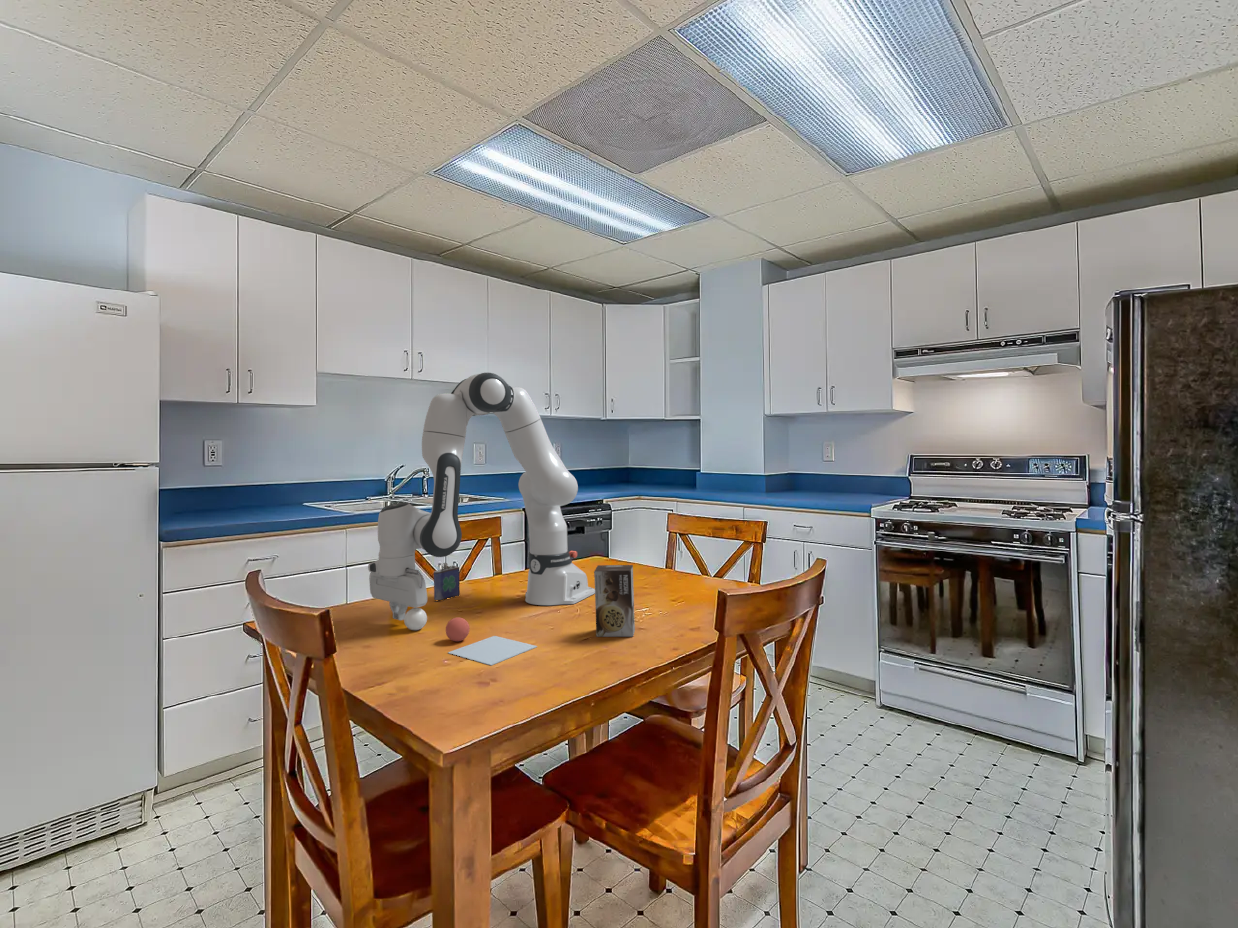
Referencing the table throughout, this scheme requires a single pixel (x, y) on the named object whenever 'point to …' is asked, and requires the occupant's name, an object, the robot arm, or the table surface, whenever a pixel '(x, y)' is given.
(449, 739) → the table surface
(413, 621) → the cue ball
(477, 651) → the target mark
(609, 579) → the coffee box
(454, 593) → the flask
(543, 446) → the robot arm
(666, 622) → the table surface
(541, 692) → the table surface
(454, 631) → the object ball
